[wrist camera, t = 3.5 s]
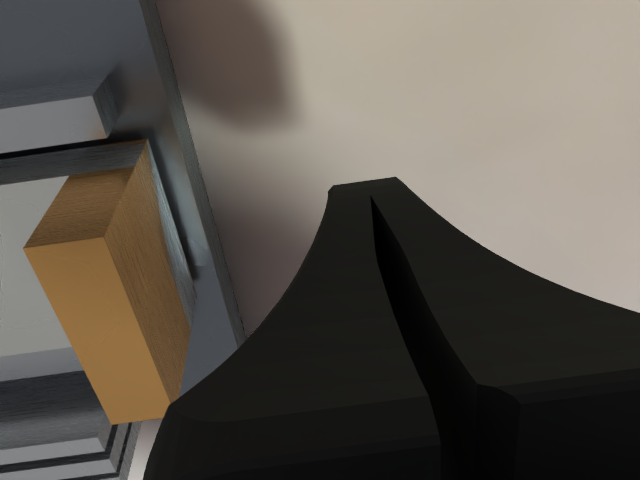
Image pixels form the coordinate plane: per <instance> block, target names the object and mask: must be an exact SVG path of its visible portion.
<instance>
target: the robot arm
mask: <svg viewBox="0 0 640 480" xmlns="http://www.w3.org/2000/svg"><path fill="white" fill-rule="evenodd" d="M143 480H640V313H638V312H634V311H631V310H628V309H625V308H622V307H619V306H616V305H613V304H610V303H606V302H603V301H600V300H597V299H594V298H592V297H589V296H586V295H584V294H581V293H578V292H575V291H573V290H570V289H568V288H566V287H563V286H561V285H558V284H556V283H554V282H551V281H549V280H547V279H544V278H542V277H540V276H538V275H535V274H533V273H531V272H529V271H527V270H525V269H523V268H521V267H519V266H517V265H515V264H513V263H512V262H510V261H508V260H506V259H504V258H502V257H501V256H499V255H497V254H495V253H493V252H492V251H490V250H488V249H487V248H485V247H483V246H482V245H480V244H479V243H477V242H476V241H474V240H473V239H471V238H470V237H468V236H467V235H465V234H464V233H462V232H461V231H459V230H458V229H457V228H455V227H454V226H453V225H452V224H450V223H449V222H448V221H446V220H445V219H444V218H443V217H441V216H440V215H439V214H438V213H436V212H435V211H434V210H433V209H432V208H430V207H429V206H428V205H427V204H426V203H425V202H424V201H422V200H421V199H420V198H419V197H418V196H417V195H416V194H415V193H414V192H412V191H411V190H410V189H409V188H408V187H407V186H406V185H405V184H404V183H403V182H402V181H400V180H399V179H398V178H397V177H391V178H384V179H377V180H369V181H362V182H355V183H348V184H340V185H333V186H332V188H331V189H330V190H329V191H328V200H327V205H326V209H325V212H324V215H323V218H322V221H321V224H320V226H319V229H318V231H317V234H316V236H315V239H314V241H313V244H312V246H311V248H310V250H309V252H308V254H307V256H306V257H305V259H304V261H303V263H302V265H301V267H300V269H299V271H298V273H297V274H296V276H295V278H294V279H293V281H292V282H291V284H290V286H289V287H288V289H287V290H286V292H285V293H284V294H283V296H282V297H281V299H280V300H279V302H278V303H277V304H276V306H275V307H274V308H273V309H272V311H271V312H270V313H269V314H268V316H267V317H266V318H265V320H264V321H263V322H262V323H261V324H260V326H259V327H258V328H257V329H256V330H255V331H254V332H253V334H252V335H251V336H250V337H249V338H248V339H247V340H246V341H245V342H244V343H243V344H242V345H241V346H240V347H239V348H238V349H237V350H236V351H235V352H234V353H233V354H232V355H231V356H230V357H229V358H228V359H227V360H225V361H224V362H223V363H222V364H221V365H220V366H219V367H217V368H216V369H215V370H214V371H213V372H211V373H210V374H209V375H208V376H206V377H205V378H204V379H202V380H201V381H200V382H199V383H197V384H196V385H195V386H194V387H192V388H191V389H190V390H188V391H187V392H186V393H185V394H183V395H182V396H181V397H179V398H178V399H177V400H175V401H174V402H172V403H171V404H170V405H169V406H168V408H167V410H166V412H165V415H164V417H163V420H162V423H161V425H160V428H159V430H158V433H157V435H156V438H155V442H154V444H153V447H152V450H151V452H150V455H149V458H148V461H147V465H146V469H145V472H144V477H143Z"/></svg>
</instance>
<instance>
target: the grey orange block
mask: <svg viewBox="0 0 640 480" xmlns="http://www.w3.org/2000/svg"><path fill="white" fill-rule="evenodd" d="M196 300H197V293H196V290H195V287H194V283H193V280H192V277H191V274H190V271H189V268H188V264H187V261H186V258H185V255H184V252H183V249H182V245H181V242H180V239H179V236H178V233H177V230H176V227H175V223H174V220H173V217H172V214H171V211H170V208H169V204H168V201H167V198H166V195H165V192H164V189H163V185H162V182H161V179H160V176H159V173H158V170H157V166H156V163H155V160H154V157H153V154H152V151H151V147H150V144H149V141H148V138H147V139H140V140H133V141H126V142H119V143H112V144H106V145H99V146H92V147H85V148H78V149H71V150H64V151H57V152H50V153H43V154H36V155H29V156H22V157H15V158H8V159H1V160H0V357H1V356H9V355H16V354H23V353H31V352H38V351H45V350H53V349H60V348H67V347H73V349H74V351H75V353H76V355H77V357H78V359H79V361H80V363H81V365H82V367H83V369H84V371H85V373H86V375H87V377H88V379H89V381H90V383H91V385H92V387H93V389H94V391H95V393H96V395H97V397H98V399H99V401H100V403H101V405H102V407H103V409H104V411H105V413H106V415H107V417H108V419H109V421H110V423H111V425H114V424H121V423H129V422H136V421H144V420H151V419H159V418H163V417H164V415H165V412H166V410H167V408H168V406H169V405H170V404H171V403H172V402H174V401H175V400H177V399H178V398H179V395H180V389H181V383H182V378H183V372H184V367H185V361H186V356H187V350H188V345H189V339H190V333H191V328H192V322H193V317H194V311H195V306H196Z"/></svg>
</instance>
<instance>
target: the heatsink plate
mask: <svg viewBox="0 0 640 480" xmlns="http://www.w3.org/2000/svg"><path fill="white" fill-rule="evenodd" d="M147 138H148V141H149V144H150V147H151V151H152V154H153V157H154V160H155V163H156V166H157V170H158V173H159V176H160V179H161V182H162V185H163V189H164V192H165V195H166V198H167V201H168V204H169V208H170V211H171V214H172V217H173V220H174V223H175V227H176V230H177V233H178V236H179V239H180V242H181V245H182V249H183V252H184V255H185V258H186V261H187V264H188V268H189V271H190V274H191V277H192V280H193V283H194V287H195V290H196V293H197V300H196V306H195V311H194V317H193V322H192V328H191V333H190V339H189V345H188V350H187V356H186V361H185V367H184V372H183V378H182V383H181V389H180V395H179V397H181V396H182V395H183V394H185V393H186V392H187V391H188V390H190V389H191V388H192V387H194V386H195V385H196V384H197V383H199V382H200V381H201V380H202V379H204V378H205V377H206V376H208V375H209V374H210V373H211V372H213V371H214V370H215V369H216V368H217V367H219V366H220V365H221V364H222V363H223V362H224V361H225V360H227V359H228V358H229V357H230V356H231V355H232V354H233V353H234V352H235V351H236V350H237V349H238V348H239V347H240V346H241V345H242V344H243V343H244V342H245V341H246V337H245V334H244V330H243V326H242V323H241V319H240V315H239V312H238V308H237V304H236V300H235V297H234V293H233V289H232V286H231V282H230V278H229V274H228V271H227V267H226V263H225V260H224V256H223V252H222V249H221V245H220V241H219V237H218V234H217V230H216V226H215V223H214V219H213V215H212V212H211V208H210V204H209V200H208V197H207V193H206V189H205V186H204V182H203V178H202V174H201V171H200V167H199V163H198V160H197V156H196V152H195V149H194V145H193V141H192V137H191V134H190V130H189V126H188V123H187V119H186V115H185V112H184V108H183V104H182V100H181V97H180V93H179V89H178V86H177V82H176V78H175V74H174V71H173V67H172V63H171V60H170V56H169V52H168V49H167V45H166V41H165V37H164V34H163V30H162V26H161V23H160V19H159V15H158V12H157V8H156V4H155V0H0V160H1V159H8V158H15V157H22V156H29V155H36V154H43V153H50V152H57V151H64V150H71V149H78V148H85V147H92V146H99V145H106V144H112V143H119V142H126V141H133V140H140V139H147ZM140 425H141V421H136V422H129V423H121V424H114V425H111V423H110V421H109V419H108V417H107V415H106V413H105V411H104V409H103V407H102V405H101V403H100V401H99V399H98V397H97V395H96V393H95V391H94V389H93V387H92V385H91V383H90V381H89V379H88V377H87V375H86V373H85V371H84V369H83V367H82V365H81V363H80V361H79V359H78V357H77V355H76V353H75V351H74V349H73V347H67V348H60V349H53V350H45V351H38V352H31V353H23V354H16V355H9V356H1V357H0V480H128V476H129V471H130V467H131V463H132V459H133V455H134V450H135V446H136V442H137V438H138V434H139V429H140Z"/></svg>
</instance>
